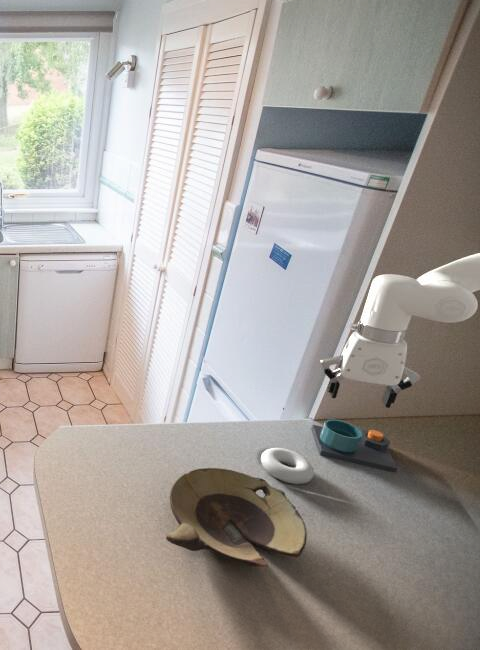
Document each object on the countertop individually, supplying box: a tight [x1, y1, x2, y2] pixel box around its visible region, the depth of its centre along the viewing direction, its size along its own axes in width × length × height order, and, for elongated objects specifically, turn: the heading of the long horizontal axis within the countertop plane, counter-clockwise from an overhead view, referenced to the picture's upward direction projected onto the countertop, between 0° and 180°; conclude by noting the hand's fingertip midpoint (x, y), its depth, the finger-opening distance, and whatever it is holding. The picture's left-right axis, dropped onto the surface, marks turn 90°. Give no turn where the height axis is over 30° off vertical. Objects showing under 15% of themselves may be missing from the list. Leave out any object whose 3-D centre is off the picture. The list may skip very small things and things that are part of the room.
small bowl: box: [320, 419, 363, 452], centre depth 108 cm, size 7×7×4 cm
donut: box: [260, 447, 315, 485], centre depth 102 cm, size 10×4×10 cm
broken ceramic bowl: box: [165, 467, 308, 568], centre depth 87 cm, size 22×30×8 cm
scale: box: [310, 424, 399, 474], centre depth 108 cm, size 14×11×3 cm
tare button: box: [367, 429, 384, 442], centre depth 108 cm, size 3×3×2 cm
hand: (358, 399), depth 103 cm, fingers open, 9 cm apart
